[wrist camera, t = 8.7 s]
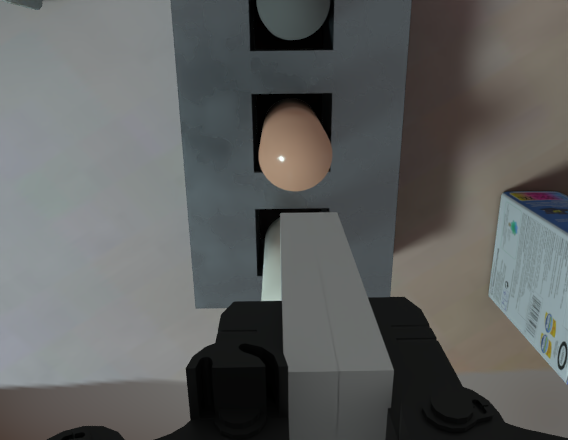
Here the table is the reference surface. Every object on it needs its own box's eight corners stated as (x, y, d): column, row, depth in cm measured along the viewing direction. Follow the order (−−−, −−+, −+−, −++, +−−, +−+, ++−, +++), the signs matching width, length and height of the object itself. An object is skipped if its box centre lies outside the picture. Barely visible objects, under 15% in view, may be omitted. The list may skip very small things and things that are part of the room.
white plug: (265, 265, 35) (261, 342, 26) (264, 214, 34) (259, 278, 25) (319, 264, 35) (333, 341, 26) (319, 214, 34) (335, 276, 25)
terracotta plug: (264, 153, 35) (259, 191, 26) (262, 98, 33) (257, 119, 25) (317, 152, 35) (331, 190, 26) (318, 97, 33) (333, 118, 25)
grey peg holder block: (208, 266, 42) (195, 308, 35) (185, -67, 33) (163, -93, 27) (371, 264, 42) (389, 305, 35) (390, -69, 34) (418, -96, 27)
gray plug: (262, 40, 35) (257, 40, 26) (261, -19, 34) (255, -41, 25) (316, 40, 35) (329, 39, 26) (316, -20, 34) (331, -42, 25)
